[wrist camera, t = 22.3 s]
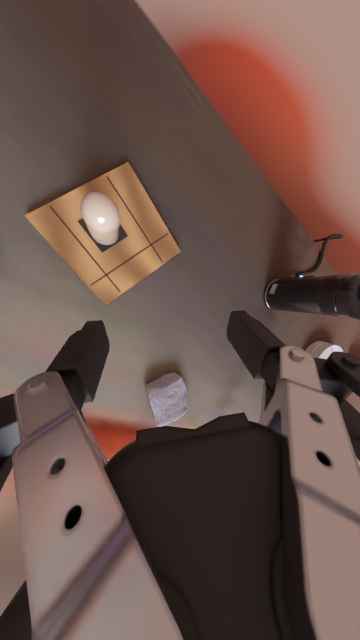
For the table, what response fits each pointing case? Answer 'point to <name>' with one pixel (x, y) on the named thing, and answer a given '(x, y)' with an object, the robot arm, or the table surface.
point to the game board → (120, 257)
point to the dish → (322, 349)
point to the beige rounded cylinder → (101, 217)
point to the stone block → (168, 398)
